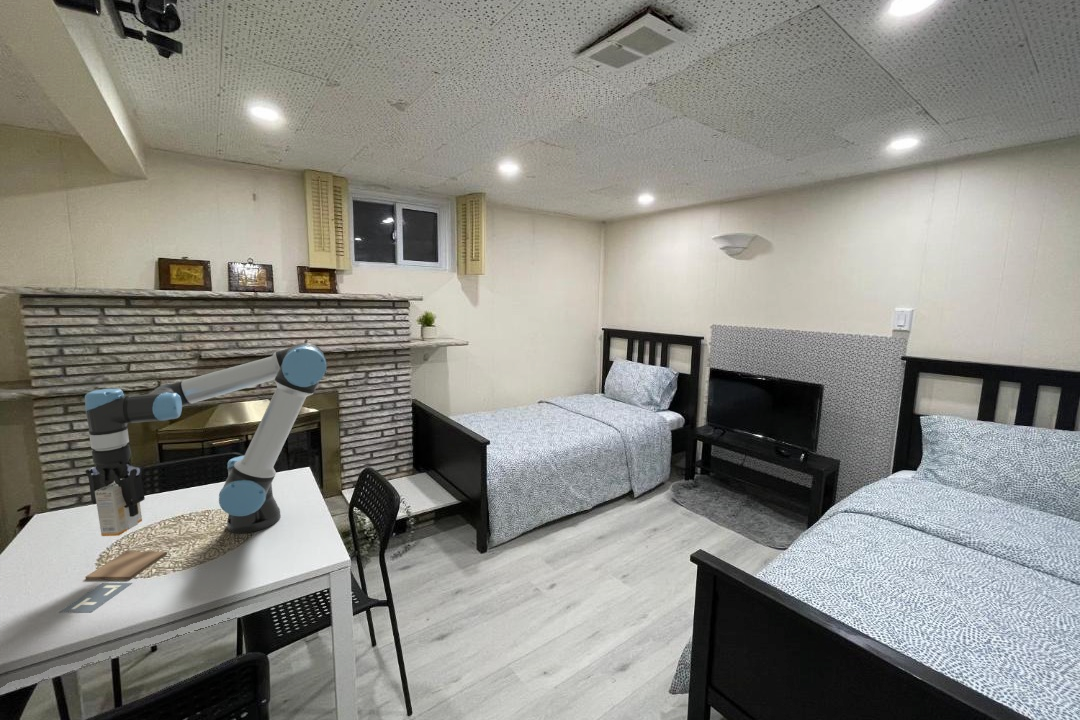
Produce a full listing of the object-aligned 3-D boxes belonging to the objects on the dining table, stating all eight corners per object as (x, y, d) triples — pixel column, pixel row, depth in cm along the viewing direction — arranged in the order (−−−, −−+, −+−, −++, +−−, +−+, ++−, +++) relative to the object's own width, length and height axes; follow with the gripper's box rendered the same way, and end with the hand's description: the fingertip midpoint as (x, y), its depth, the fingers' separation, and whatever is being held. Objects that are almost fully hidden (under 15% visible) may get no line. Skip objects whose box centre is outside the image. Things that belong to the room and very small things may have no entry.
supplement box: (125, 521, 129) (119, 478, 127) (143, 521, 129) (137, 477, 127) (99, 536, 121) (93, 490, 119) (118, 536, 121) (112, 490, 119)
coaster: (166, 554, 133) (166, 551, 133) (130, 579, 121) (129, 576, 121) (126, 553, 133) (126, 551, 133) (85, 579, 121) (85, 576, 121)
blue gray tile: (132, 583, 119) (132, 582, 119) (91, 612, 108) (91, 611, 108) (102, 583, 119) (102, 582, 119) (58, 612, 108) (58, 611, 108)
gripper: (155, 442, 125) (165, 520, 129) (91, 441, 125) (102, 519, 129) (131, 451, 118) (142, 534, 121) (63, 450, 118) (75, 533, 121)
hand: (122, 526), depth 125 cm, fingers closed on supplement box, 5 cm apart
